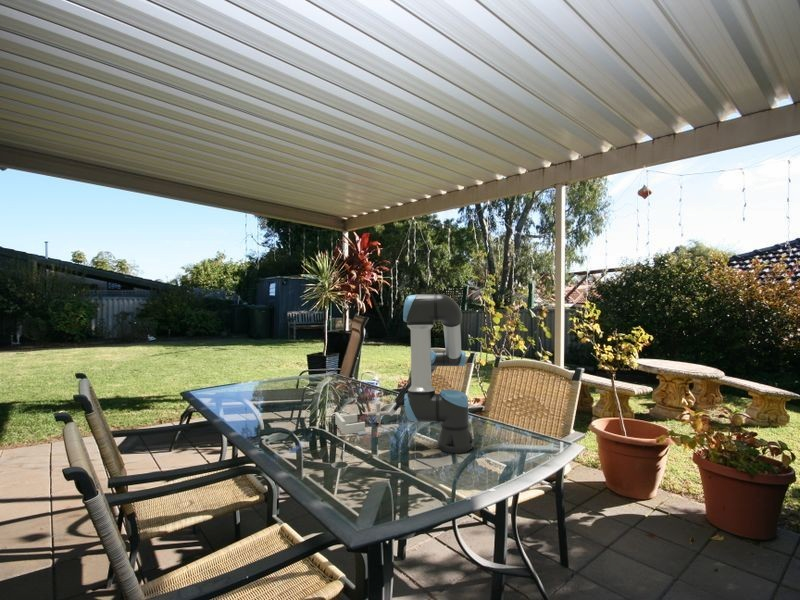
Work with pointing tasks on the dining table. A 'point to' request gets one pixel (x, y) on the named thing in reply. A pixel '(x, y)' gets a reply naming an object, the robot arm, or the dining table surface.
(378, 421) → the pipe connector
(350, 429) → the dock
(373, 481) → the dining table surface
